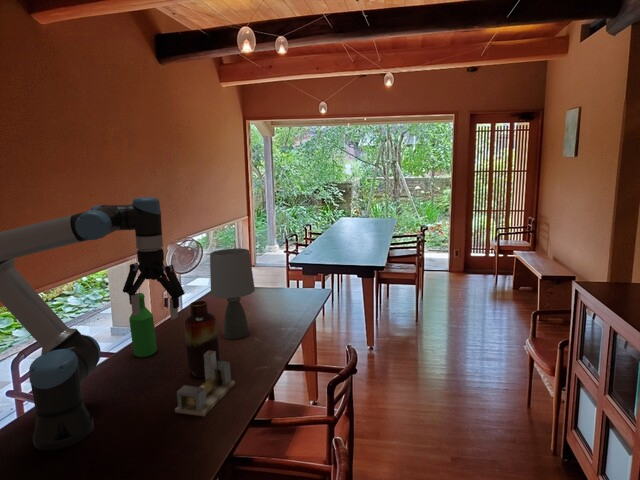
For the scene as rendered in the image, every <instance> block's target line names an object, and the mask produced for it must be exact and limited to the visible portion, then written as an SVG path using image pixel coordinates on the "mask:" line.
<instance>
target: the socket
mask: <svg viewBox="0 0 640 480" xmlns="http://www.w3.org/2000/svg"><path fill="white" fill-rule="evenodd" d="M216 363H217V371H221V376H222V386H226V385H227V384H228V383H229V382H230V381H232V374H231V364H230V363H231V362H230V361H224V360H220V361H216ZM204 370H205V365H204ZM204 380H205V381H206V374H205V378H204Z"/></svg>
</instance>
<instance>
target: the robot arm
mask: <svg viewBox="0 0 640 480" xmlns="http://www.w3.org/2000/svg"><path fill="white" fill-rule="evenodd" d="M161 211H162V210H161V204H160V200H159V198H157V197H153V196H152V197H149V196H148V197H147V196H145V197H135V198H133V199H132V204H119V205H118V204H110V205H109V204H101V205H93V206H91V207H90V210H87V211H84V212H79V213H75V214H71V215H66V216H63V217H59V218H58V217H57V218H54V219H50V220H46V221H45V220H44V221H42V222H38V223H37V222H36V223H32V224H28V225H25V226H24V225H23V226H20V227H16V228H11V229H8V230H3V231H2V230H1V231H0V302H1V304H2V305H3V306H4V308H6V309H7V311H8V312H9V313H10V314H11V315H12V316H13V317H14V318H15V319H16V320H17V322H18V323H19V324H20V325H22V327H23V328H24V329H25V331H26V332H28V333H29V335H30V336H31V337H32V338H33V339H34V340H35V341H36V342H37V343H38V344H39V346H40V347H41V354H40V355H39V356H38V357H36V358H35V359H34V360H33V361H32V362H31V364H30V365H29V368H28V369H29V370H28V372H29V383H30V386H31V391H32V392H31V393H32V398H33V403H34V404H33V405H34V409H35V415H36V418H35V425H34V430H33V432H32V443H33V446H34V448H35V449H37V450H40V451H44V452H46V451H47V452H49V451H50V452H51V451H57V450H62V449H66V448H69V447H71V446H74V445H76V444H78V443H80V442H81V441H83V440H85V439H86V438H87V437H88V436H89V435H91V434H92V432H93V431H94V427H95V425H94V420H93V419H94V418H93V416H92V415H91V413H90V411H89V410H88V408H87V407H86V405H85V403H84V398H83V390H82V384H83V382H84V381H85V380H86V379H87V378H88V376H89V375H90V374H91V373H92V372H93V371H94V370H95V369H96V367H97V365H98V363H99V362H100V359H101V355H102V354H101V353H102V351H101V347H100V344H99V342H98V341H97V340H96V339H95V338H94V337H92V336H91V335H85V334H82V333H81V332H80V330H78V329H77V328H74V327H73V328H72V327H69V326H67V325H66V323H65V322H64V321H63V320H62V319H61V318H60V317H59V316H58V315H57V313H55V311H54V310H53V309H52V308H51V306H50V305H49V304H48V303H47V302H46V301H45V300H44V298H43V297H42V296H41V295H40V294H39V293H38V291H36V290H35V289H34V287H33V286H32V285H31V284H30V283H29V282H28V281H27V280H26V278H25V277H24V276H23V275H22V274H21V273H20V272H19V270H18V269H17V268H16V267H15V264H16V259H17V258H21V257H25V256H28V255H33V254H37V253H41V252H45V251H50V250H53V249H58V248H62V247H65V246H66V247H67V246H69V245H74V244H77V243H82V242H88V241H96V240H100V239H103V238H104V237H106V236H108V235H110V234H112V233H114V232H116V231H117V232H118V231H134V232H135V246H136V247H135V248H136V249H137V251H136V257H137V262H134V263H130V264H129V272H128V275H127V277H126V280H125V282H124V286H123V288H122V292H123V294H125V293H126V294H128V297H129V298H128V299H129V304H130V305H131V314H132V315H133V316H136V315H138V314H140V304H139V293H140V292H138V290H139V289H140V287H141V286H142V285H143V283H144V282H145V280H152V281H155V280H156V281H157V282H158V283H160V285H161V286H162V288H164V290H165V291H166V292H167V293H168V295H169V296H170V298H169V299H168V300H169V301H168V302H169V312H170V320H175V319H176V318H178V317H179V313H178V308H179V307H180V297H182V296H184V295H185V293H186V292H185V290H184V288H183V286H182V284H181V283H180V281H179V280H180V279H179V278H178V277H177V274H176V273H175V269H174V265H173V264H169V265H165V264H164V260H165V253H164V248H163V247H164V242H163V230H162V212H161ZM138 271H139V272H140V273H139V274H138ZM137 275H138V276H137Z"/></svg>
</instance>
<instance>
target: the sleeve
mask: <svg viewBox="0 0 640 480" xmlns="http://www.w3.org/2000/svg"><path fill="white" fill-rule="evenodd" d="M188 396H191V397H195V402H196V412H201V411H202V410H203V409H204V408H205V407H206V406H207V401H206V390H205V388H203V387H199V386H193V385H182V386H181V387H180V388H179V389H178V390H177V391H176V397H177V398H176V399H177V407H178V409H179V410H182V409H183V408H185V407H186V406H185V403H184V401H185V399H186V398H187V397H188Z"/></svg>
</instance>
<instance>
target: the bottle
mask: <svg viewBox="0 0 640 480" xmlns="http://www.w3.org/2000/svg"><path fill="white" fill-rule="evenodd" d="M138 293H139V304H140V314H138V315H136V316H133V315H132V313H131V314H130V317H129V320H128V321H129V326H130V334H131V335H130V337H131V343H132V350H133V356H135V357H136V358H148V357H150V356H153V355H155V353H156V352H157V350H158V348H157V347H158V346H157V341H156V339H157V337H156V332H155V331H156V330H155V321H154V315H153V313H152V312H151V311H150V310H149V309H148V308H147V307H146V304H145V303H146V302H145V294H144V292H138Z"/></svg>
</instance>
